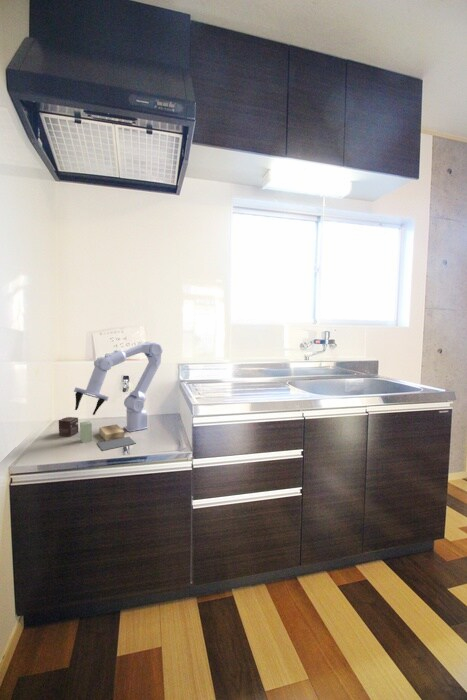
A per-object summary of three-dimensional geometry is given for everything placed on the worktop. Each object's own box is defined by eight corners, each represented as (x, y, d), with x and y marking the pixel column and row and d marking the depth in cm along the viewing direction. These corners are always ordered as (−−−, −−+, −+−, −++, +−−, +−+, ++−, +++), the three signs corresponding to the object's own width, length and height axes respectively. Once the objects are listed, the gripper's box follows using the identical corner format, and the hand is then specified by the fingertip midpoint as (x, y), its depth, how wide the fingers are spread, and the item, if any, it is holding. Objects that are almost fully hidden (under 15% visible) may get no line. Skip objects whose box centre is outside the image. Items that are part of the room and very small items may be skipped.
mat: (129, 437, 152) (129, 436, 152) (136, 443, 145) (136, 443, 145) (96, 443, 144) (96, 442, 144) (102, 450, 137) (102, 450, 137)
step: (116, 430, 162) (116, 424, 161) (124, 437, 152) (124, 431, 151) (99, 433, 157) (99, 427, 157) (106, 441, 147) (105, 434, 147)
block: (90, 438, 151) (89, 421, 150) (92, 440, 148) (91, 423, 147) (80, 439, 149) (79, 422, 148) (82, 442, 145) (81, 424, 145)
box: (70, 436, 152) (69, 421, 152) (58, 435, 153) (58, 420, 153) (78, 432, 158) (78, 417, 157) (67, 431, 159) (67, 416, 159)
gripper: (77, 377, 144) (66, 408, 142) (111, 387, 148) (100, 417, 145) (80, 377, 151) (69, 407, 149) (112, 387, 155) (102, 415, 152)
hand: (84, 412), depth 148 cm, fingers open, 7 cm apart
